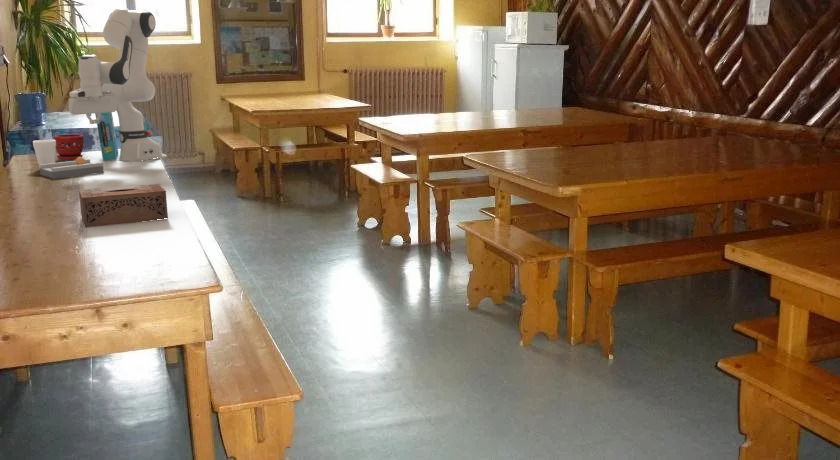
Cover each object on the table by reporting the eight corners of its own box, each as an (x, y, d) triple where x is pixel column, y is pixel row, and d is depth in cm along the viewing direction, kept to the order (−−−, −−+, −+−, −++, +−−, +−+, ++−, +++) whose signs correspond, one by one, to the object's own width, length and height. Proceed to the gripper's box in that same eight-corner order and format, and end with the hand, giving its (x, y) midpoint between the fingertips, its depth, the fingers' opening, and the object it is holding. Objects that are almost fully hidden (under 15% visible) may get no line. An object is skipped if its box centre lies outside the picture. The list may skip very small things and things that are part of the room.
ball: (83, 164, 362) (82, 156, 361) (87, 165, 359) (86, 157, 358) (74, 166, 359) (73, 157, 358) (78, 167, 356) (77, 158, 355)
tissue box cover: (161, 211, 283) (158, 183, 280) (168, 220, 270) (165, 190, 268) (81, 219, 272) (78, 190, 269) (85, 228, 259) (82, 197, 257)
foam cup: (62, 167, 373) (59, 139, 369) (51, 171, 364) (48, 142, 360) (43, 167, 373) (39, 139, 370) (31, 170, 364) (28, 142, 361)
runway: (90, 168, 369) (89, 159, 368) (103, 172, 360) (102, 162, 359) (40, 174, 354) (39, 164, 353) (53, 178, 345) (52, 168, 343)
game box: (105, 155, 411) (96, 101, 404) (118, 153, 413) (109, 100, 406) (102, 161, 392) (92, 105, 385) (116, 159, 394) (106, 103, 387)
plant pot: (78, 161, 391) (76, 136, 388) (51, 161, 391) (48, 136, 388) (89, 157, 404) (87, 133, 401) (63, 157, 404) (61, 133, 401)
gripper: (111, 90, 366) (113, 121, 370) (65, 93, 352) (68, 124, 355) (117, 91, 362) (120, 122, 365) (71, 93, 348) (74, 126, 351)
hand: (94, 123), depth 360 cm, fingers closed
